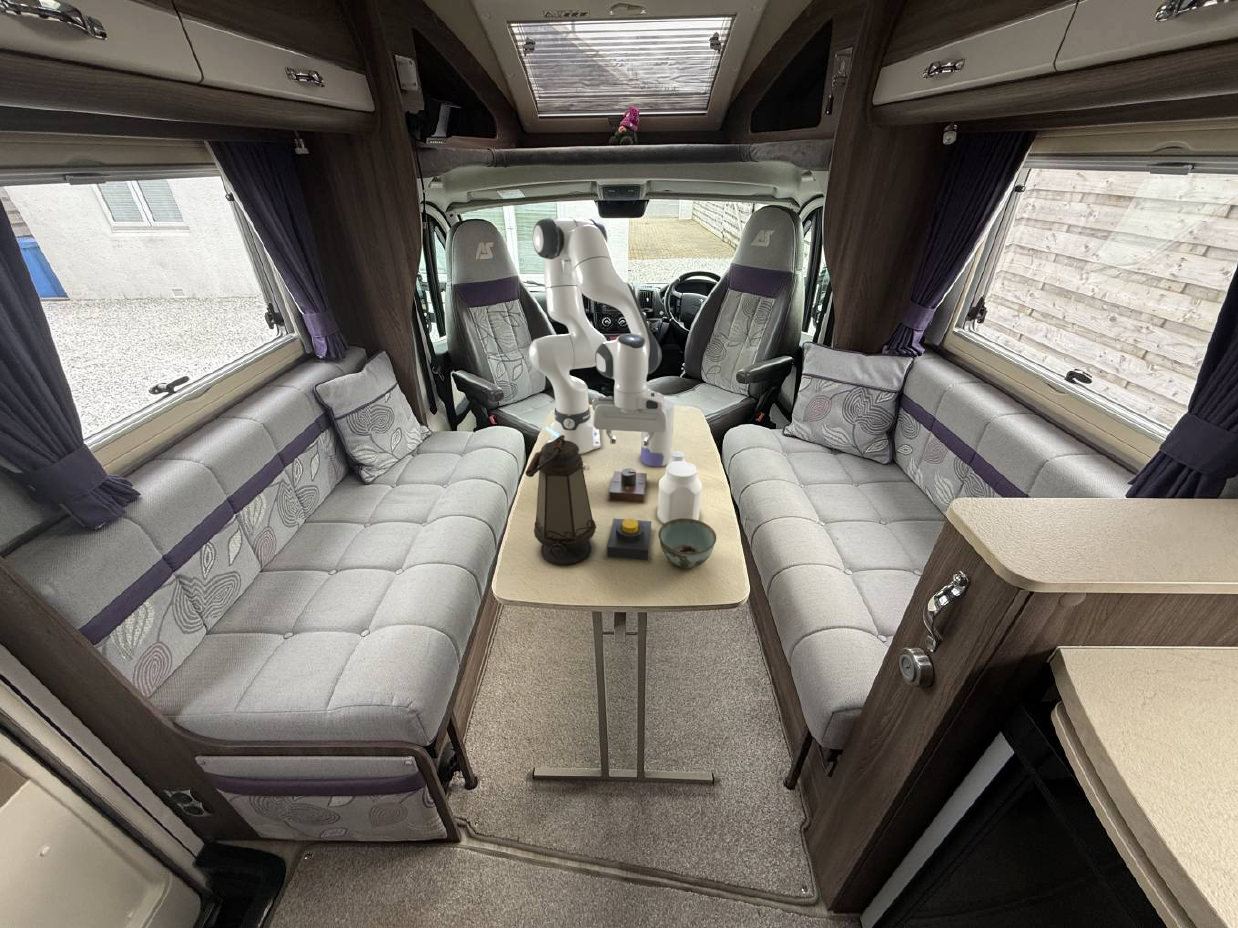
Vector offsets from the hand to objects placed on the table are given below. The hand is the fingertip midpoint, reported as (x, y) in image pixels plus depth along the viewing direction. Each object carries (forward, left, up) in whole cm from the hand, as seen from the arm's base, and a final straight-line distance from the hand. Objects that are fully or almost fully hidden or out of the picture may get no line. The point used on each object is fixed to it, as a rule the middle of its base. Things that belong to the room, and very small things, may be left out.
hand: (629, 444), depth 139 cm
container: (-22, +7, -17) cm, 29 cm away
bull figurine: (+1, -16, -17) cm, 24 cm away
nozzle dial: (-2, 0, -14) cm, 14 cm away
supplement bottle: (-9, +14, -17) cm, 23 cm away
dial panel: (-2, 0, -17) cm, 17 cm away
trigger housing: (+23, +3, -17) cm, 29 cm away
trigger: (+23, +3, -12) cm, 26 cm away
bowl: (+28, +17, -17) cm, 37 cm away
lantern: (+27, -13, -17) cm, 35 cm away
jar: (+9, +15, -17) cm, 24 cm away
